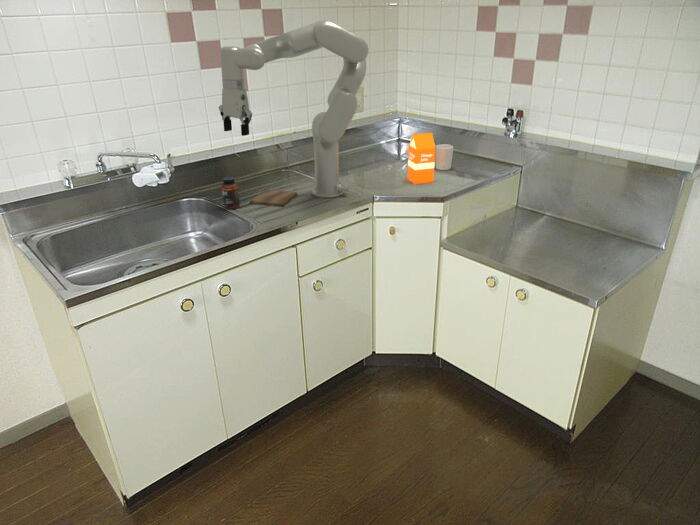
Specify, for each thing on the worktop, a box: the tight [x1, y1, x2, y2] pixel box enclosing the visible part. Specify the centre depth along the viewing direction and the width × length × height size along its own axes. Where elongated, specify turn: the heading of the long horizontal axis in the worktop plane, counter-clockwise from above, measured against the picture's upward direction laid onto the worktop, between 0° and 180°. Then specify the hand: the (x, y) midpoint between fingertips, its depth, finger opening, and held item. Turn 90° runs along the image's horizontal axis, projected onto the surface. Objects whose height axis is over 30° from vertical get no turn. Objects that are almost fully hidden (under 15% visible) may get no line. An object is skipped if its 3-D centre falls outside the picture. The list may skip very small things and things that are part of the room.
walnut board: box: [249, 188, 298, 208], centre depth 207 cm, size 14×14×1 cm
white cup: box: [435, 143, 454, 171], centre depth 239 cm, size 8×8×10 cm
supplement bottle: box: [221, 176, 241, 210], centre depth 197 cm, size 6×6×11 cm
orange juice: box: [406, 132, 436, 185], centre depth 222 cm, size 8×9×20 cm
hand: (236, 132), depth 194 cm, fingers open, 9 cm apart
